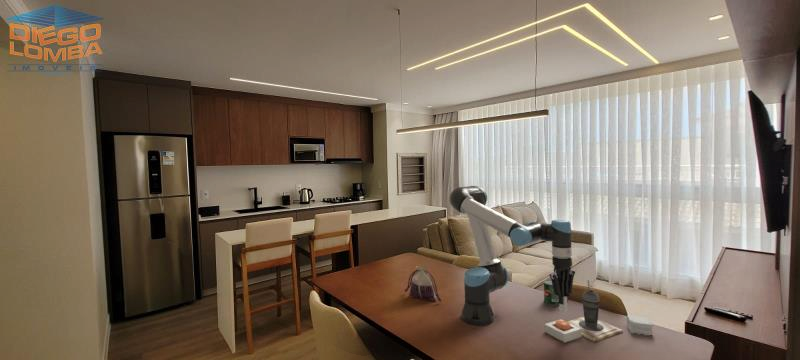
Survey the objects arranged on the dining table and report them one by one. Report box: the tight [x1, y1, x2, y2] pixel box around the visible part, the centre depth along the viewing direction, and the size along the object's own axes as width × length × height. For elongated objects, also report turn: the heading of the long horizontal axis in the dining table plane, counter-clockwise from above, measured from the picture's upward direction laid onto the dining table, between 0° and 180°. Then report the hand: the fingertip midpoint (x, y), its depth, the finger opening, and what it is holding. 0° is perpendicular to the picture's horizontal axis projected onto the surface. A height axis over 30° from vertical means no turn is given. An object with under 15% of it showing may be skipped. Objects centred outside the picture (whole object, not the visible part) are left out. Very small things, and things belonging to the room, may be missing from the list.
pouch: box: [404, 265, 442, 303], centre depth 186 cm, size 25×8×19 cm, turn 58°
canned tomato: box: [543, 279, 559, 307], centre depth 175 cm, size 8×8×11 cm
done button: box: [555, 319, 570, 331], centre depth 142 cm, size 6×6×2 cm
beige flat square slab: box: [566, 316, 623, 343], centre depth 146 cm, size 18×16×1 cm
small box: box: [626, 314, 653, 336], centre depth 144 cm, size 8×8×5 cm
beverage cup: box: [580, 279, 601, 328], centre depth 146 cm, size 7×7×20 cm
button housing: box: [544, 318, 582, 343], centre depth 142 cm, size 10×10×4 cm
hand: (563, 310), depth 142 cm, fingers closed
